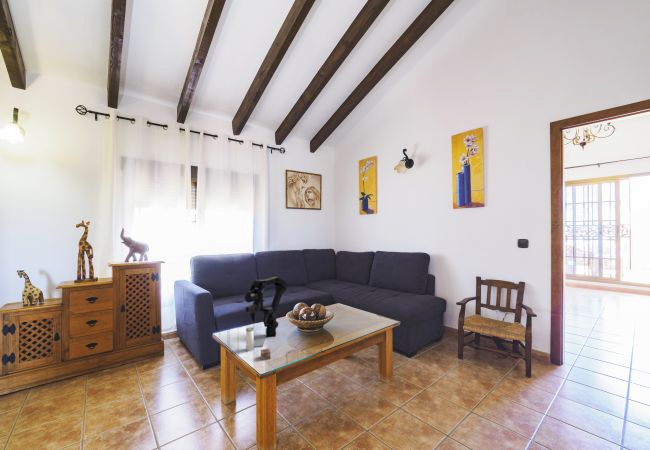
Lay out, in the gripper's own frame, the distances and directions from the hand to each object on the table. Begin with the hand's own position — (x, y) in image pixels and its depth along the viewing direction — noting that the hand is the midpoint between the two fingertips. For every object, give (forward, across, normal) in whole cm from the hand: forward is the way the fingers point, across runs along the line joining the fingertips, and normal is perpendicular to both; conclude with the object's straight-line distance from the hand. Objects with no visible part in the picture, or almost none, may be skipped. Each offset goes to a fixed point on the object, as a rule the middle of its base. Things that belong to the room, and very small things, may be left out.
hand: (259, 322), depth 185 cm
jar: (+13, +2, -12) cm, 18 cm away
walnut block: (+13, +17, -18) cm, 28 cm away
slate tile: (+13, 0, -4) cm, 13 cm away
